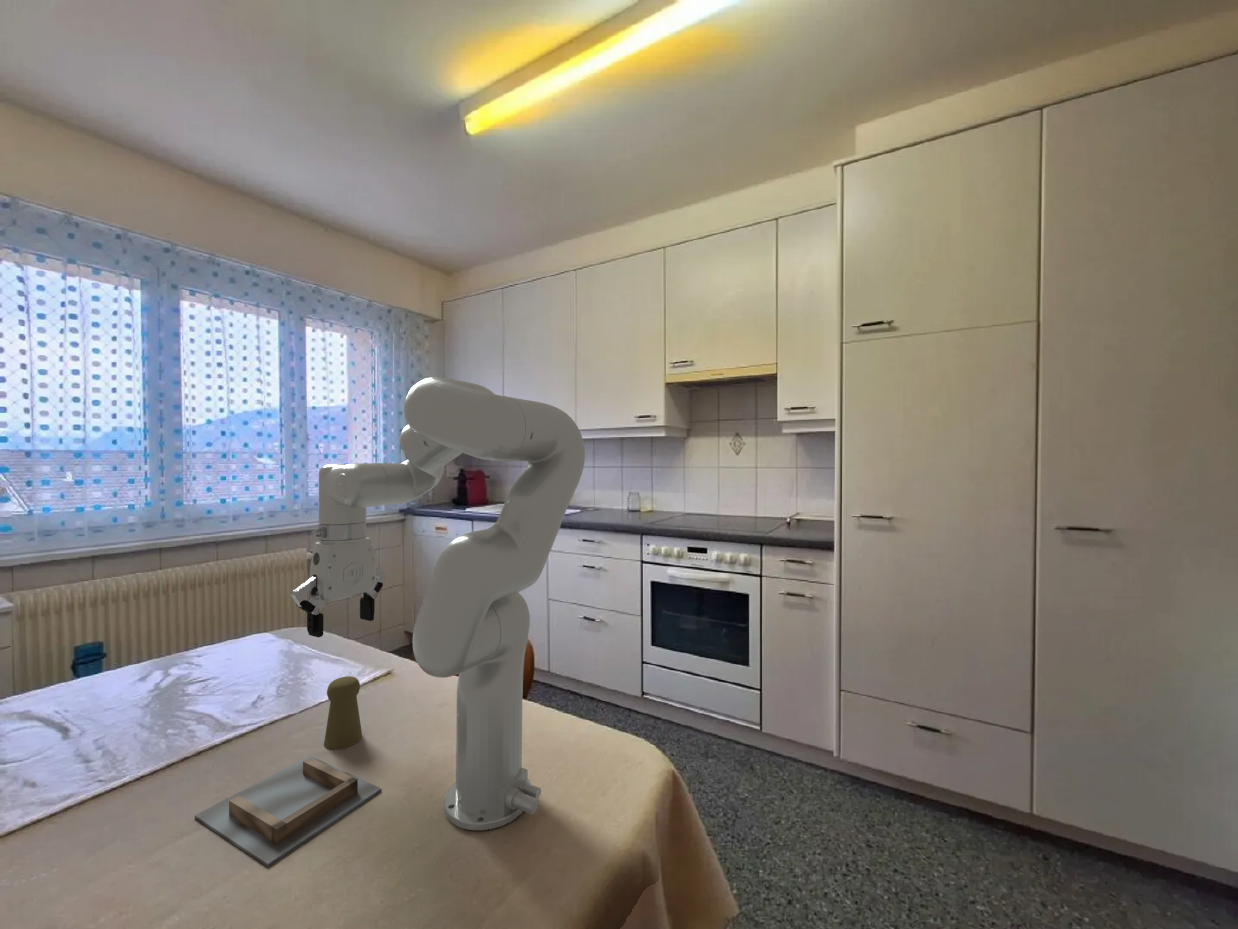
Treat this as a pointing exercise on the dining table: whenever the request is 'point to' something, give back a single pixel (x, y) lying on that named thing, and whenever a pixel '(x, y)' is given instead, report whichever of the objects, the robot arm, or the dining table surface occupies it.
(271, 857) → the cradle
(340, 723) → the cork
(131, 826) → the dining table surface
